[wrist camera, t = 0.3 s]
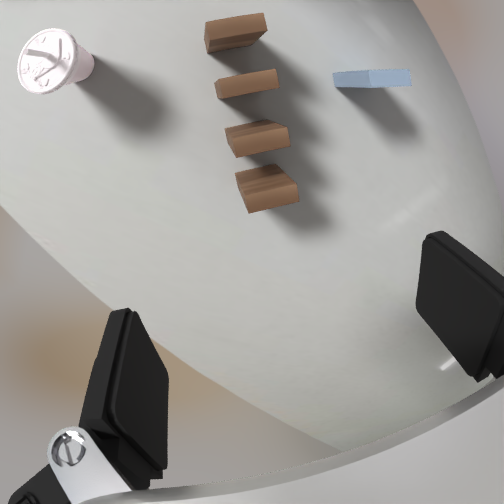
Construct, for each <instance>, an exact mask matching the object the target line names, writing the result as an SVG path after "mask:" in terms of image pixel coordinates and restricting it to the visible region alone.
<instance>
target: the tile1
mask: <svg viewBox="0 0 504 504" xmlns="http://www.w3.org/2000/svg"><path fill="white" fill-rule="evenodd" d="M333 78H334V83H335V87H361V88H377V87H396V86H412V85H411V77H410V70H409V69H389V70H363V71H349V72H338V73H333Z"/></svg>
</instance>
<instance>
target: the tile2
mask: <svg viewBox="0 0 504 504" xmlns="http://www.w3.org/2000/svg"><path fill="white" fill-rule="evenodd" d="M266 31H267V26H266V22H265V18H264V13H257V14H250V15H243V16H237V17H231V18H225V19H219V20H214V21H209V22H206V24H205V36H204V41H205V45H206V49H207V54H208V53H212V52H217V51H222V50H227V49H232V48H237V47H243V46H249V45H252V44H253V43H254V42H255V41H256V40H258V39H259V38H260V37H261V36H262V35H263V34H264V33H265V32H266Z"/></svg>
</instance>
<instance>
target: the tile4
mask: <svg viewBox="0 0 504 504" xmlns="http://www.w3.org/2000/svg"><path fill="white" fill-rule="evenodd" d="M225 132H226V137H227V141H228V144H229V146H230V148H231V149H232V151H233V153H234V154H235V156H236V158H238V157H243V156H247V155H251V154H256V153H260V152H265V151H270V150H275V149H279V148H284V147H289V146H290V140H289V135H288V129H287V127H285V126H283V125H280V124H278V123H275V122H272V121H270V120H262V121H257V122H252V123H248V124H243V125H238V126H234V127H230V128H225Z"/></svg>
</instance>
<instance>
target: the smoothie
mask: <svg viewBox="0 0 504 504" xmlns="http://www.w3.org/2000/svg"><path fill="white" fill-rule="evenodd" d="M93 69H94V58H93V56H92V55H91V54H90V53H89V52H87V51H86V50H85V49H84V48H82V47H81V46H80V45H79V44H78V43H77V42H76V40H75V38H74V37H73V36H72V35H71V34H70V33H69V32H67V31H65V30H62V29H57V28H50V29H46V30H43V31H41V32H39V33H37V34H36V35H35V36H33V37H32V38H31V39H30V40H29V41H28V42H27V44H26V45H25V46H24V48H23V50H22V52H21V54H20V57H19V60H18V67H17V71H18V77H19V80H20V82H21V84H22V86H23V87H24V88H25V89H26V90H28V91H30V92H32V93H37V94H47V93H51V92H54V91H56V90H58V89H59V88H61V87H62V86H64V85H67V84H71V83H74V82H78V81H82V80H84V79H86V78H87V77H88V76H89V75H90V74H91V73H92V71H93Z"/></svg>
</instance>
